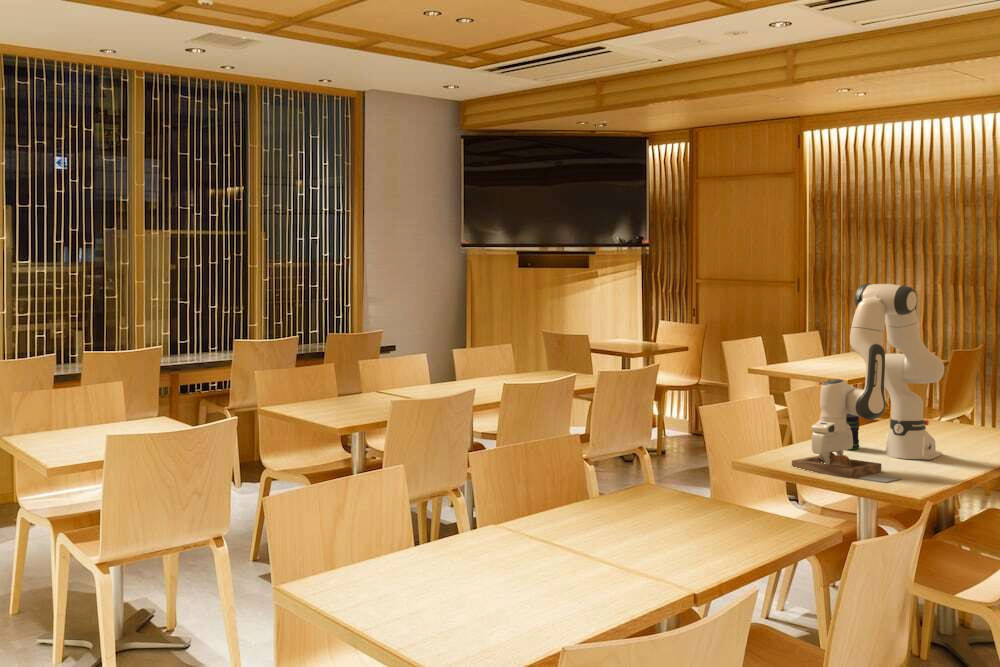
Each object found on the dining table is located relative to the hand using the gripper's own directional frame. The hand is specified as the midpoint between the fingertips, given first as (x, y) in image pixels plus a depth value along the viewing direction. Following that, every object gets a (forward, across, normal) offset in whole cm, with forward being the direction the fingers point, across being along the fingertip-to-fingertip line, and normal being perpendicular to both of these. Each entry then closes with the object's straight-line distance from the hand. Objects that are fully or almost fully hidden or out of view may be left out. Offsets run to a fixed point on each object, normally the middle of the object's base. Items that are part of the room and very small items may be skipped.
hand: (832, 464), depth 340 cm
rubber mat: (+2, +3, +20) cm, 20 cm away
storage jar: (+2, -36, -18) cm, 40 cm away
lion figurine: (+2, -1, +1) cm, 3 cm away
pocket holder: (+2, 0, +1) cm, 2 cm away
